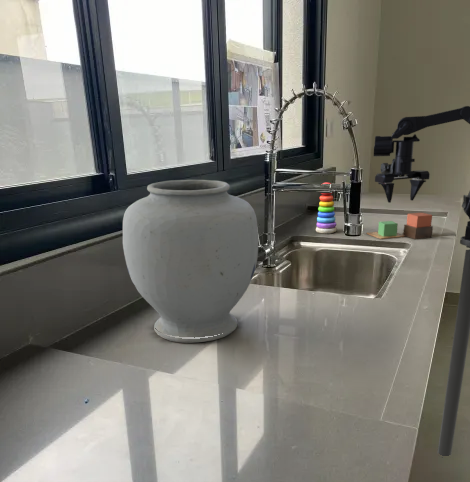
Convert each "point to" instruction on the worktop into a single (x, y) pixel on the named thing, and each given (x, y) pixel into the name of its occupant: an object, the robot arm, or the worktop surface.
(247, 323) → the worktop surface
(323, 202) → the stacking toy
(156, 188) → the grey vase
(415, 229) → the walnut block
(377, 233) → the cork coaster
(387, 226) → the green block
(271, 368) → the worktop surface
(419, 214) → the terracotta block
